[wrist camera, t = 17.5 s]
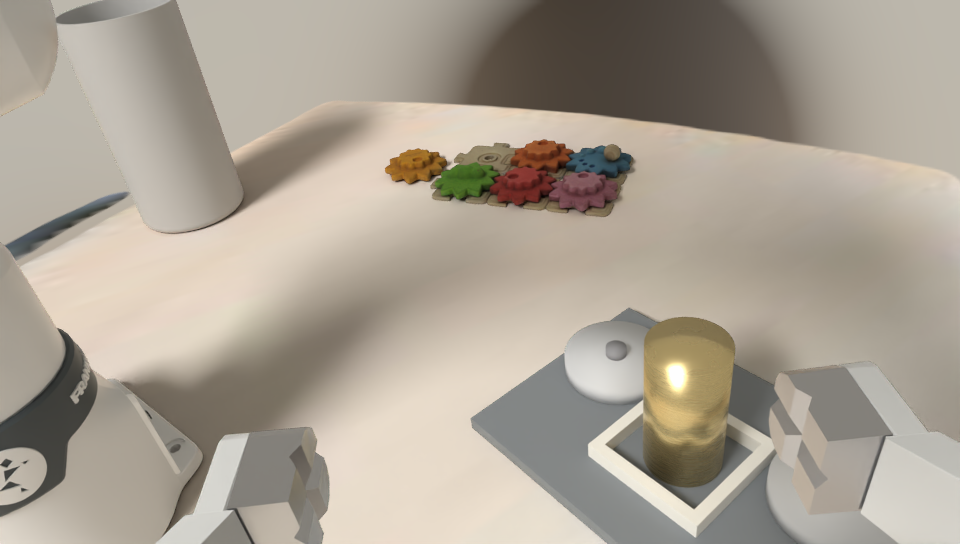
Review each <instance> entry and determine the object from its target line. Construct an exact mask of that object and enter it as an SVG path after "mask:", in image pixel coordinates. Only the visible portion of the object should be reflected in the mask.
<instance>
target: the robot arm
mask: <svg viewBox="0 0 960 544" xmlns="http://www.w3.org/2000/svg"><path fill="white" fill-rule="evenodd" d="M57 53H58V30H57V24H56V17H55V14H54V10H53V7H52V3H51V1H50V0H0V117H1V116H3V115H4V114H7V113H9V112H11V111H12V110H14V109H16V108H18V107H20V106H22V105H24V104H26V103H28V102H30V101H32V100H34V99H36V98H38V97H39V96H41V95H43V94H44V93H45V91H46V89H47V87H48V85H49V83H50V81H51V78H52V75H53V73H54V69H55V65H56V60H57ZM774 389H775V391H776V393H777V395H778V397H779V399H778V400H777V401H776V402H775V403H774V404H773V405H772V406H771V408H770V415H769V427H770V435H771V439H772V442H773V445H774V448H775V450H776V452H777V454H778V456H779V458H780V460H781V461H782V462H784V463H785V464H787V465H788V466H790V467H791V468H793V469H794V473H793V477H792V484H793V486H794V488H795V489H796V491H797V493H798V495H799V497H800V499H801V501H802V503H803V505H804V507H805V509H806V511H807V513H808V514H809V515H814V514H826V513H838V512H851V511H861V514H862V515H863V516H865V517H866V518H867V519H868V520H870V521H871V522H872V523H873V524H875V525H876V526H877V527H878V528H880V529H881V530H882V531H884V532H885V533H886V534H887V535H889V536H890V537H891V538H892V539H894V540H895V541H896V542H897V543H899V544H960V443H959V442H958V441H956V440H954V439H952V438H950V437H948V436H946V435H944V434H942V433H941V432H939V431H934V432H928V430H927V429H926V428H925V426H924V425H923V424H922V423H921V421H920V420H919V419H918V418H917V416H916V415H915V414H914V412H913V411H912V410H911V409H910V407H909V406H908V405H907V403H906V402H905V401H904V400H903V398H902V397H901V396H900V394H899V393H898V392H897V391H896V389H895V388H894V387H893V386H892V384H891V383H890V382H889V380H888V379H887V378H886V377H885V375H884V374H883V373H882V371H881V370H880V369H879V368H878V366H877V365H876V364H874V363H872V362H871V361H865V362H857V363H849V364H841V365H838V366H837V365H832V366H824V367H816V368H808V369H800V370H792V371H784V372H780V373H779V374H778V376H777V377H776V381H775V386H774ZM316 445H317V439H316V437H315V434H314V432H313V430H312V428H310V427H302V428H290V429H279V430H268V431H257V432H251V433H240V434H229V435H225V436H224V437H223V438H222V439H221V440H220V441H219V443H218V446H217V448H216V451H215V454H214V457H213V460H212V463H211V465H210V468H209V471H208V474H207V477H206V479H205V482H204V485H203V488H202V491H201V494H200V496H199V499H198V502H197V505H196V508H195V510H194V513H193V514H190V515H185V516H183V517H182V518H181V519H180V520H179V521H178V522H177V523H176V524H175V525H174V526H173V527H172V528H171V529H170V530H169V531H168V532H167V533H166V534H165V535H164V536H163V534H164V532H165V531H166V529H167V527H168V525H169V523H170V521H171V519H172V516H173V514H174V511H175V508H176V505H177V501H178V498H179V495H180V493H181V491H182V489H183V487H184V486H185V484H186V483H187V482H188V481H189V479H190V478H191V477H192V475H193V474H194V473H195V471H196V470H197V468H198V467H199V465H200V464H201V462H202V459H203V454H202V452H201V450H200V449H199V448H198V446H197V445H196V444H195V443H194V442H193V441H191V440H190V439H189V438H188V437H186V436H185V435H184V434H183V433H182V432H180V431H179V430H178V429H177V428H175V427H174V426H173V425H172V424H170V423H169V422H168V421H167V420H166V419H164V418H163V417H162V416H161V415H159V414H158V413H157V412H156V411H155V410H153V409H152V408H151V407H150V406H148V405H147V404H146V403H145V402H144V401H142V400H141V399H140V398H139V397H137V396H136V395H135V394H134V393H133V392H131V391H130V390H129V389H128V388H126V387H125V386H124V385H123V384H121V383H120V382H119V381H117V380H116V379H105V378H104V377H102V376H101V375H100V374H98V373H97V372H95V371H94V370H92V369H91V368H90V365H89V362H88V359H87V358H86V356H85V354H84V353H83V351H82V350H81V348H80V347H79V346H78V345H77V344H76V343H75V342H74V341H73V340H72V339H71V337H70V336H69V335H68V334H67V333H66V332H64V331H63V330H61V329H59V328H56V326H55V324H54V323H53V321H52V319H51V318H50V316H49V315H48V313H47V311H46V310H45V308H44V306H43V305H42V303H41V302H40V300H39V298H38V297H37V295H36V293H35V292H34V290H33V288H32V287H31V285H30V284H29V282H28V280H27V279H26V277H25V275H24V274H23V272H22V271H21V269H20V267H19V266H18V264H17V262H16V261H15V259H14V257H13V256H12V254H11V253H10V251H9V250H8V249H7V248H6V247H5V246H4V245H3V244H2V243H1V242H0V544H322V540H323V534H324V533H323V531H322V528H321V526H320V523H319V520H320V518H321V517H322V516H323V515H324V514H325V513H326V512H327V509H328V502H329V475H328V470H327V466H326V463H325V460H324V458H323V457H322V456H320V455H319V454H317V453H316V452H315V450H316ZM162 536H163V537H162ZM161 537H162V538H161Z"/></svg>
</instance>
